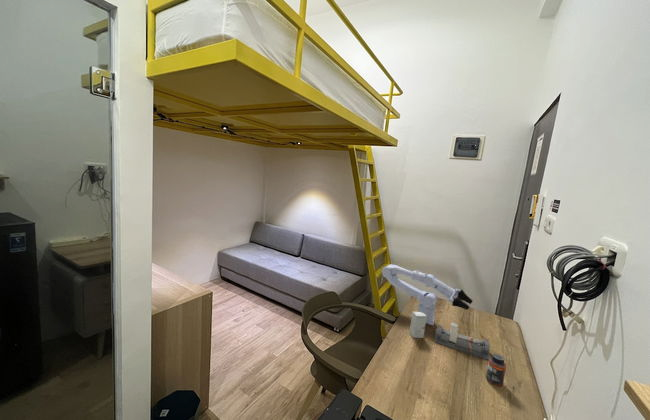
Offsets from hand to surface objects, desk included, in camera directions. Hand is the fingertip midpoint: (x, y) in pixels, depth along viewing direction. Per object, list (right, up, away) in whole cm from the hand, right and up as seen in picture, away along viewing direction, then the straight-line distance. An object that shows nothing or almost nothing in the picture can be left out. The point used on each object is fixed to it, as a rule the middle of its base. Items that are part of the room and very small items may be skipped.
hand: (470, 305), depth 128 cm
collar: (-11, -16, -3) cm, 20 cm away
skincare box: (-29, -16, 0) cm, 33 cm away
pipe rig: (-8, -18, -5) cm, 20 cm away
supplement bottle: (-7, -21, -27) cm, 35 cm away
